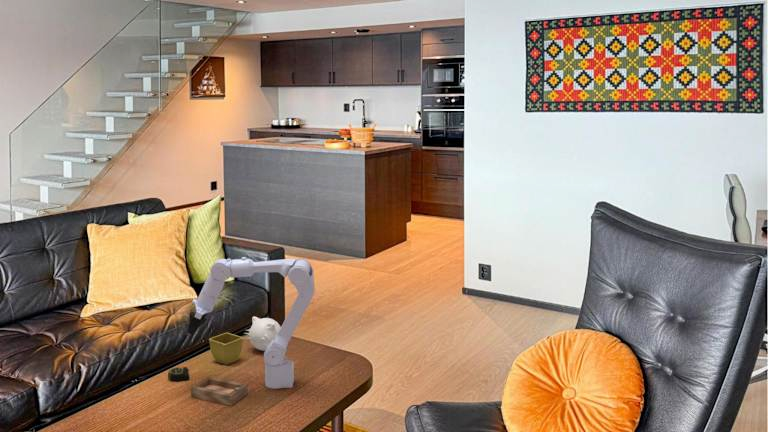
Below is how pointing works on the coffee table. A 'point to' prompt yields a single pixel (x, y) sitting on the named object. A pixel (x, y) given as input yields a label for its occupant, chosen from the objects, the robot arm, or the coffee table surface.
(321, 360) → the coffee table surface
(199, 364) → the coffee table surface
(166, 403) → the coffee table surface
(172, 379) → the tape measure
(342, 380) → the coffee table surface
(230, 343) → the flower pot
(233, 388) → the wooden tray
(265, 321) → the cat head
